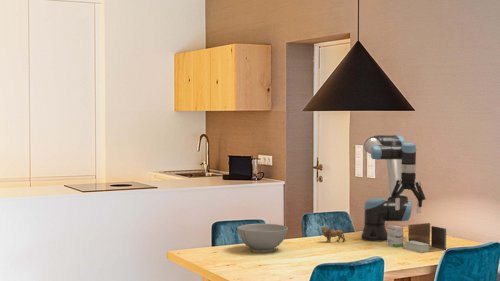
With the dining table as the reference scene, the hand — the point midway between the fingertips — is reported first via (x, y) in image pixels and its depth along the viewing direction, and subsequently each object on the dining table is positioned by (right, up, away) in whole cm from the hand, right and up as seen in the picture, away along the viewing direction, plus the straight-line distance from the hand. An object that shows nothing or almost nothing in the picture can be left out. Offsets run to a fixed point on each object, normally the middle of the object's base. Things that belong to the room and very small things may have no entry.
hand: (407, 211), depth 389 cm
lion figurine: (-38, -19, +19) cm, 47 cm away
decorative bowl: (-78, -20, -5) cm, 81 cm away
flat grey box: (+2, -19, -10) cm, 22 cm away
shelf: (+8, -20, -6) cm, 22 cm away
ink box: (-6, -20, +3) cm, 21 cm away
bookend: (+16, -19, -3) cm, 25 cm away
